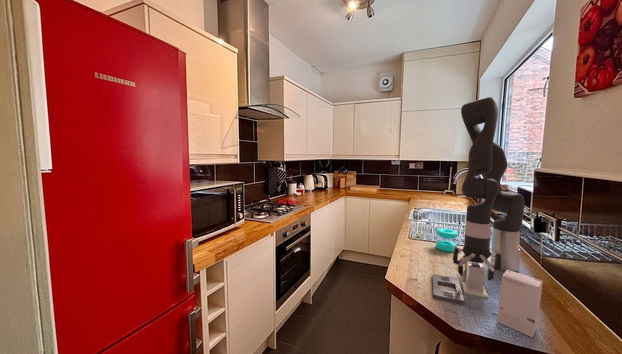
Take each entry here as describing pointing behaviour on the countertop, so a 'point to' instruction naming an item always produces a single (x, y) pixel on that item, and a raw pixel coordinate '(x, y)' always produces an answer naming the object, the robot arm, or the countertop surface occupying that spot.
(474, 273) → the square post
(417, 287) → the countertop surface
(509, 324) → the skincare box
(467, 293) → the pad
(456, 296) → the rectangular plate with hole
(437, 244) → the donuts
